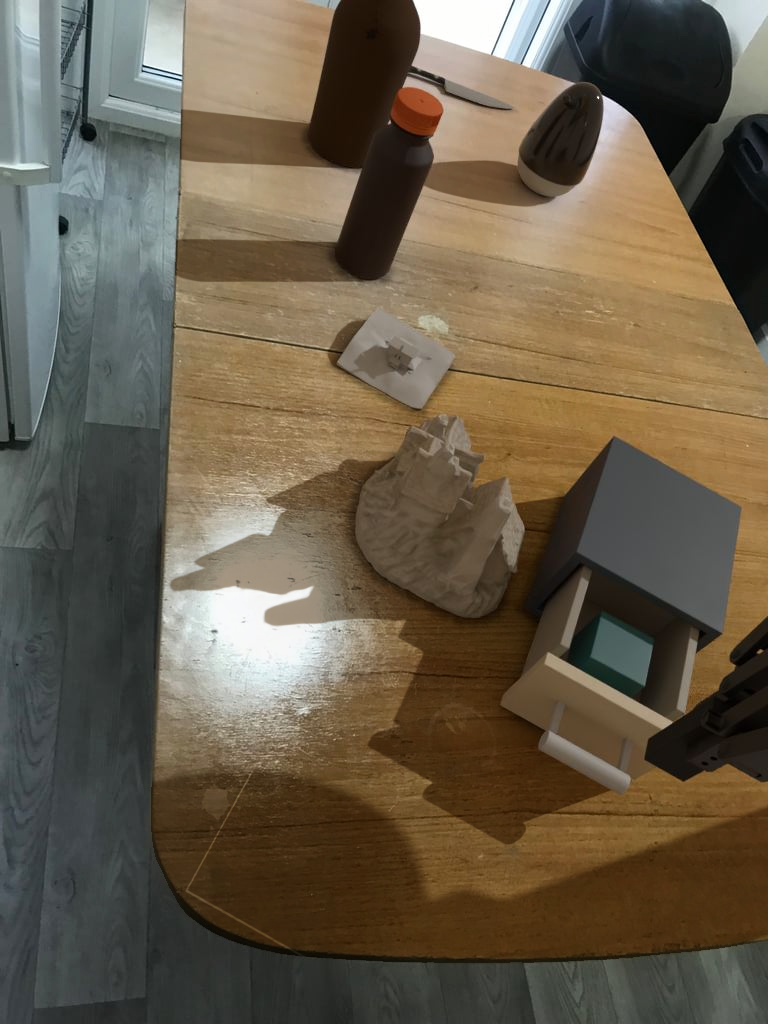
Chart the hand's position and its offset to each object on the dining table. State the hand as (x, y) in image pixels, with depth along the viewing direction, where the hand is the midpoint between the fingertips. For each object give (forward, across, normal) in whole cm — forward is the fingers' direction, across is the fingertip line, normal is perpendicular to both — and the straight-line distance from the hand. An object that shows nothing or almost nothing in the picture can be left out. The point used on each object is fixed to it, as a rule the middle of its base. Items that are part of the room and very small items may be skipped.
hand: (665, 760), depth 50 cm
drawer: (+17, +13, 0) cm, 21 cm away
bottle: (+18, +53, +39) cm, 68 cm away
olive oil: (+18, +73, +51) cm, 91 cm away
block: (+16, +15, 0) cm, 22 cm away
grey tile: (+18, +40, +29) cm, 53 cm away
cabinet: (+18, +27, 0) cm, 32 cm away
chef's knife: (+18, +103, +44) cm, 113 cm away
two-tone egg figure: (+18, +90, +26) cm, 95 cm away
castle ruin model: (+18, +22, +17) cm, 33 cm away
